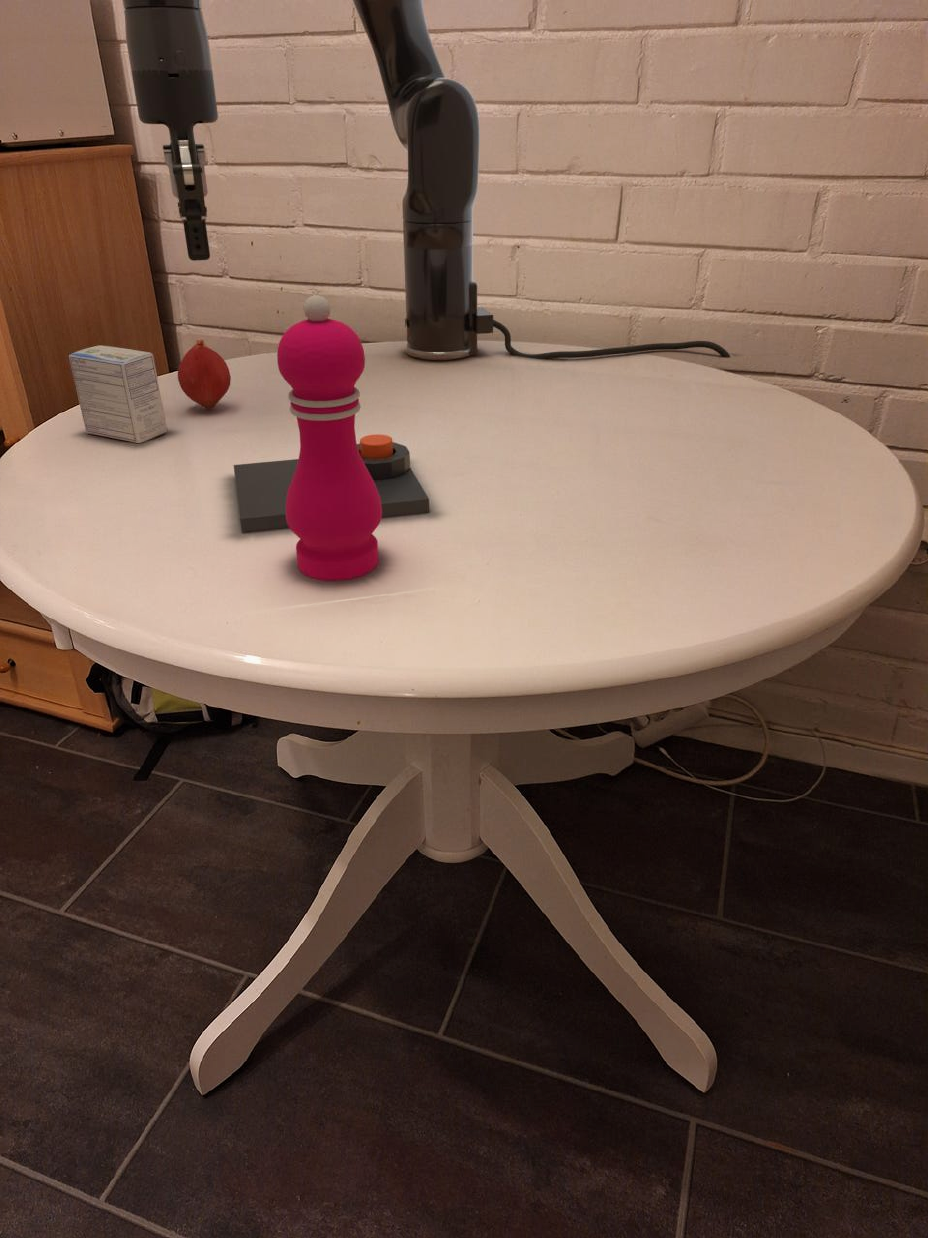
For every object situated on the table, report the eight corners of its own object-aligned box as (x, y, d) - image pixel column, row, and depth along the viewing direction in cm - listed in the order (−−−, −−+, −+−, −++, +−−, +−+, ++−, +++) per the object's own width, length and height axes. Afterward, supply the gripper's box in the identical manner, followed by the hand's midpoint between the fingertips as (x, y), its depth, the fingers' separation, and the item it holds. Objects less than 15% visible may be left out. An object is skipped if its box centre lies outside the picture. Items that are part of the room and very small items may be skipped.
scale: (400, 462, 90) (399, 433, 88) (429, 513, 79) (428, 481, 77) (235, 478, 86) (231, 448, 85) (242, 534, 75) (237, 500, 74)
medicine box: (169, 433, 98) (155, 351, 94) (138, 445, 95) (122, 361, 90) (116, 422, 101) (100, 343, 97) (84, 434, 98) (66, 352, 94)
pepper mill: (301, 542, 74) (273, 285, 64) (389, 543, 74) (375, 285, 64) (283, 584, 68) (249, 306, 58) (379, 585, 68) (362, 306, 57)
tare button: (389, 448, 86) (389, 432, 85) (395, 459, 83) (395, 443, 82) (358, 451, 85) (357, 435, 84) (363, 462, 83) (362, 446, 82)
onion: (172, 412, 105) (160, 341, 101) (206, 398, 109) (196, 330, 105) (211, 419, 102) (200, 347, 98) (244, 405, 107) (235, 335, 103)
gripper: (132, 68, 91) (162, 251, 100) (128, 65, 80) (163, 271, 89) (208, 68, 93) (231, 248, 102) (215, 64, 82) (240, 267, 91)
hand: (199, 258), depth 96 cm, fingers closed
